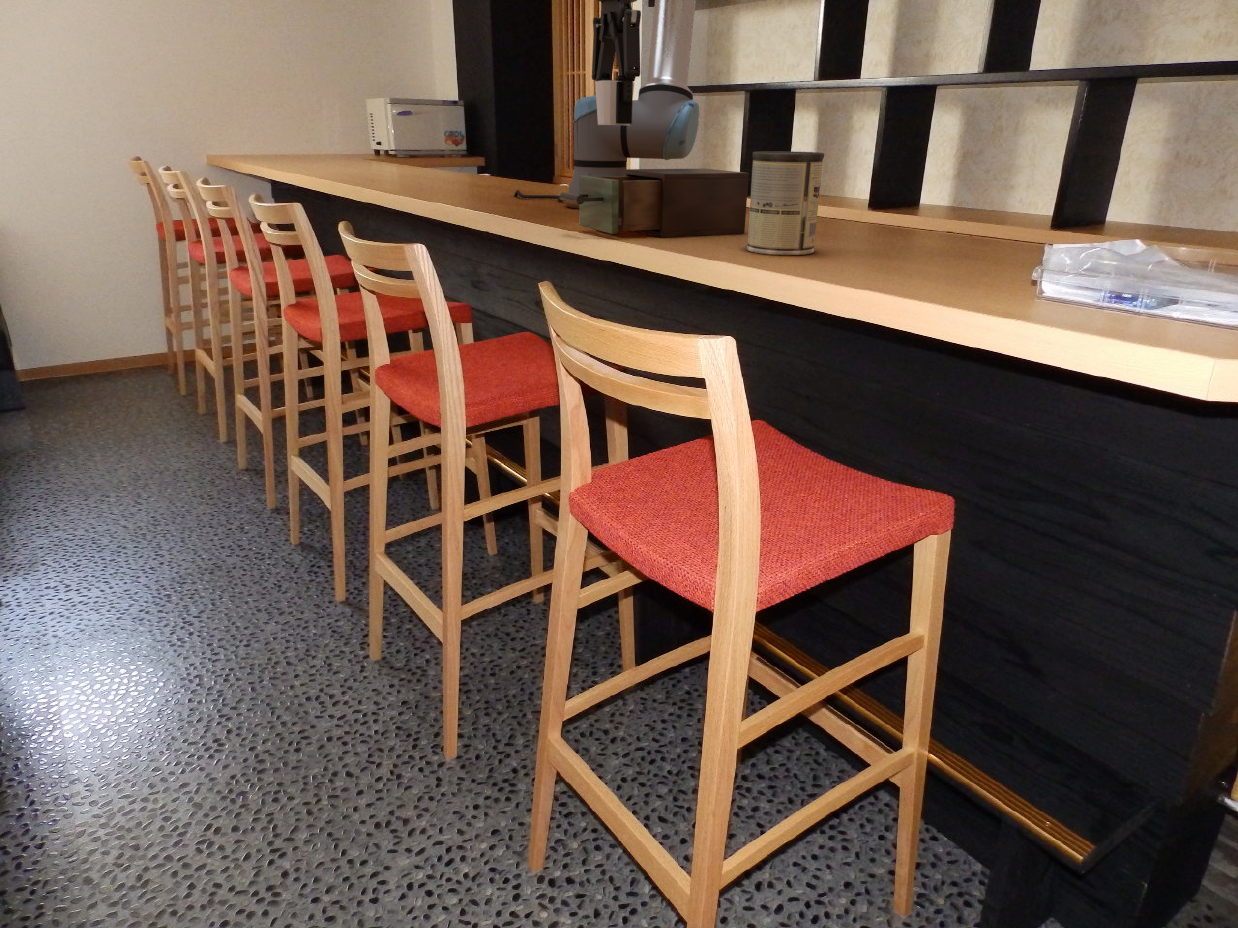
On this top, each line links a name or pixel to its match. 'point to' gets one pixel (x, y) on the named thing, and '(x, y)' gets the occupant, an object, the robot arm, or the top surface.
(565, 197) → the drawer
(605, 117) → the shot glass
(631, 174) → the cabinet
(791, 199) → the coffee can
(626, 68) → the robot arm
